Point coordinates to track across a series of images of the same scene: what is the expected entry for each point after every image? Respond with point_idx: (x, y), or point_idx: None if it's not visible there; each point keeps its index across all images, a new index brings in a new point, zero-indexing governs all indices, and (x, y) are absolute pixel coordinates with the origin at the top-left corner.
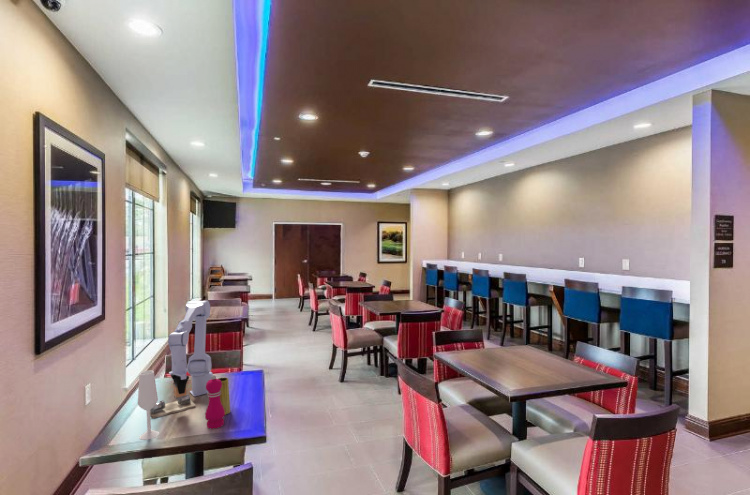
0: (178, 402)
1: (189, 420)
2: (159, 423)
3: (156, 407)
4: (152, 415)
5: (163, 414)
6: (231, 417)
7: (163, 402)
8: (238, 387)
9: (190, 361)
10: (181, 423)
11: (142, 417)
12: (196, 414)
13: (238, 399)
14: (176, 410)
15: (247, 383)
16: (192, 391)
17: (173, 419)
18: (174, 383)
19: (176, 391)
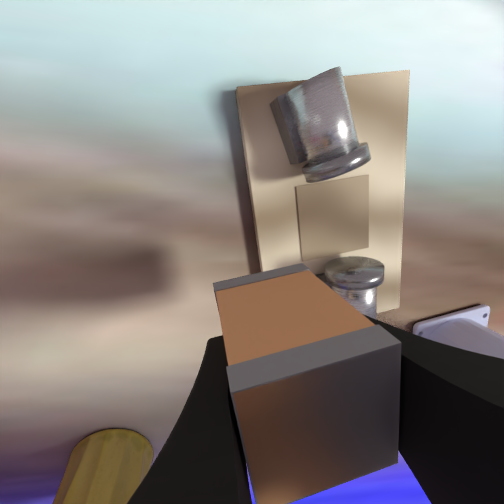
0: (340, 262)
1: (78, 311)
2: (114, 134)
3: (297, 115)
4: (256, 91)
5: (247, 167)
6: (23, 496)
7: (326, 170)
8: (388, 478)
9: None
10: (46, 269)
11: (293, 26)
12: (159, 343)
13: (252, 494)
14: (258, 245)
15: (405, 500)
16: (462, 323)
17: (144, 223)
18: (356, 363)
19: (224, 331)
